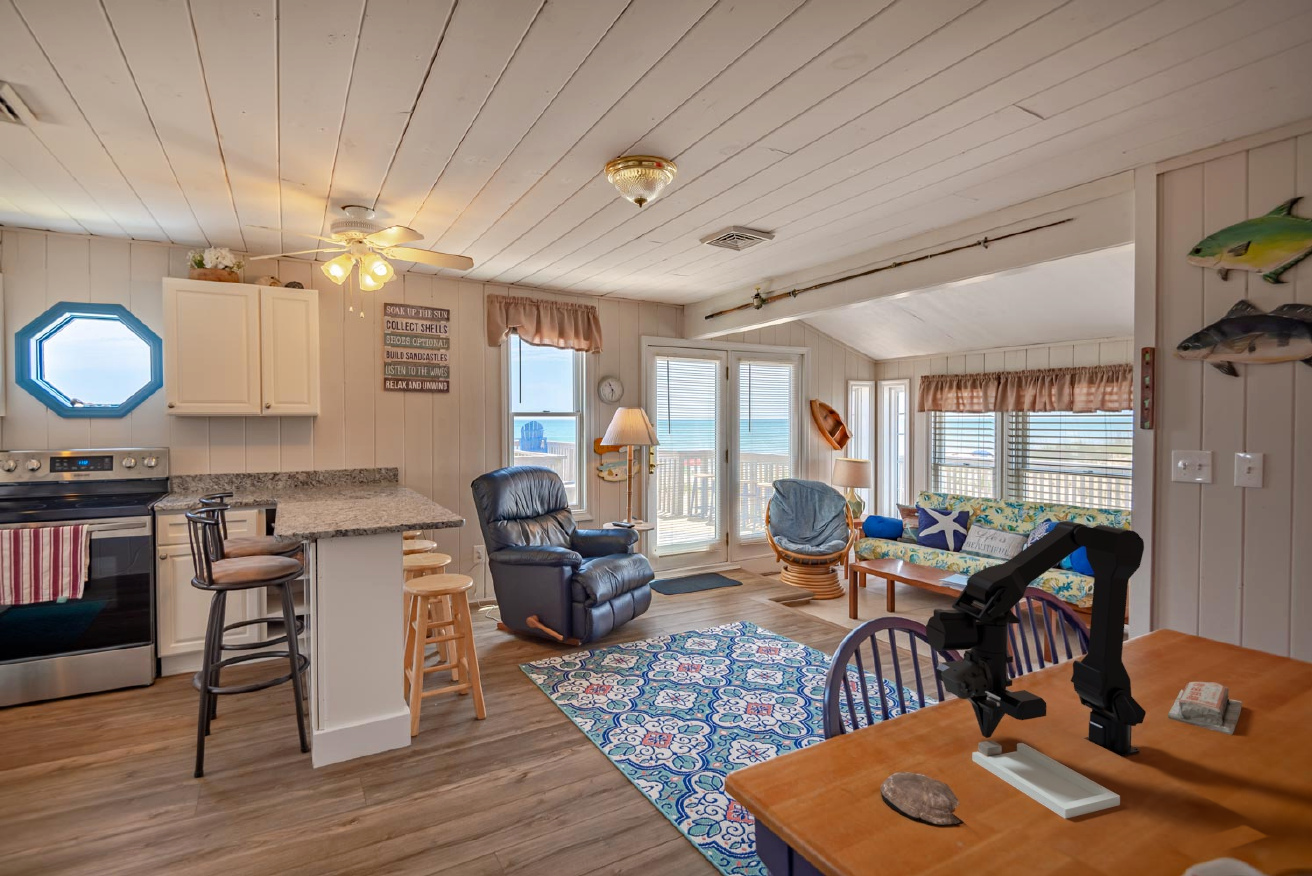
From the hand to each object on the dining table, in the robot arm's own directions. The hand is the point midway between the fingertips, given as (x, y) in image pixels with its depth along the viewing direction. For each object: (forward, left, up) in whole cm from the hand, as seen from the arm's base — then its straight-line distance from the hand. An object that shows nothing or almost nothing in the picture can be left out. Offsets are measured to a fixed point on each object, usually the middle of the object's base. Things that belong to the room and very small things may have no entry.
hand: (986, 736), depth 115 cm
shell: (+20, +7, -4) cm, 22 cm away
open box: (0, +11, -4) cm, 12 cm away
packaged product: (-57, 0, -4) cm, 57 cm away
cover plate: (0, -3, -4) cm, 5 cm away
